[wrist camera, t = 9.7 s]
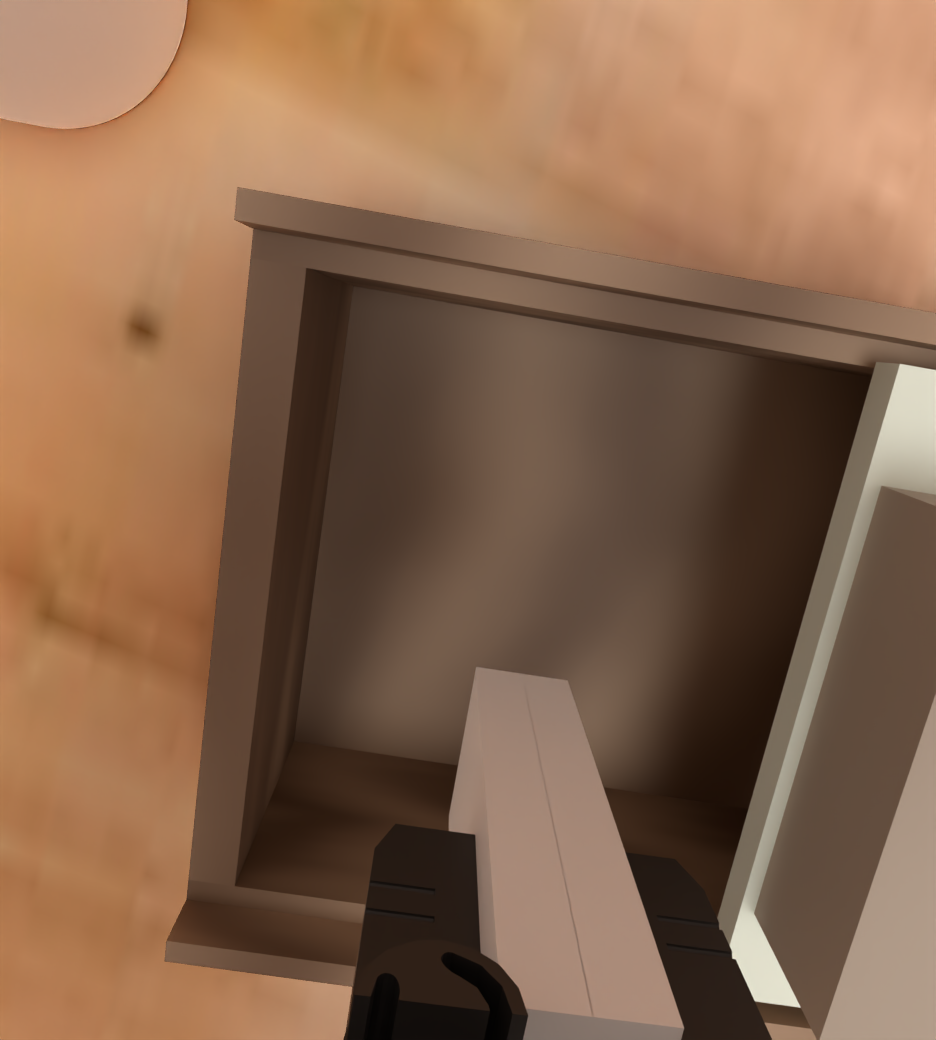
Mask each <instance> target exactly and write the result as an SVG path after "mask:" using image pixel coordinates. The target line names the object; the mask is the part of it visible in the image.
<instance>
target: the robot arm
mask: <svg viewBox="0 0 936 1040" xmlns="http://www.w3.org/2000/svg"><path fill="white" fill-rule="evenodd" d="M344 1040H772V1038H771V1036H770V1034H769V1031H768V1029H767V1027H766V1025H765V1023H764V1020H763V1018H762V1016H761V1014H760V1012H759V1009H758V1007H757V1005H756V1003H755V1001H754V998H753V996H752V994H751V992H750V990H749V987H748V985H747V983H746V981H745V979H744V976H743V974H742V972H741V970H740V968H739V965H738V963H737V961H736V959H732V950H731V948H730V946H729V943H728V941H727V939H726V937H725V935H724V932H723V930H719V922H718V919H717V917H716V915H715V913H714V911H713V908H712V906H711V904H710V902H709V900H708V897H707V895H706V893H705V891H704V889H703V888H702V887H701V886H700V885H699V884H698V883H697V882H696V881H695V880H694V879H693V877H692V876H691V875H690V874H689V873H688V872H687V871H686V870H685V869H684V868H683V867H682V866H681V865H680V864H679V863H678V862H677V861H676V860H675V859H671V858H664V857H656V856H649V855H642V854H635V853H627V852H625V850H624V847H623V844H622V841H621V838H620V835H619V832H618V829H617V826H616V823H615V820H614V817H613V814H612V811H611V808H610V805H609V803H608V800H607V797H606V794H605V791H604V788H603V785H602V782H601V779H600V776H599V773H598V770H597V767H596V764H595V761H594V758H593V755H592V752H591V749H590V746H589V743H588V740H587V737H586V734H585V731H584V728H583V725H582V722H581V719H580V716H579V713H578V710H577V707H576V704H575V701H574V698H573V695H572V692H571V689H570V686H569V683H568V680H561V679H554V678H548V677H541V676H534V675H527V674H521V673H514V672H507V671H501V670H494V669H487V668H481V667H476V671H475V676H474V682H473V687H472V693H471V698H470V703H469V709H468V714H467V720H466V725H465V731H464V736H463V742H462V747H461V752H460V758H459V763H458V769H457V774H456V780H455V785H454V791H453V796H452V802H451V807H450V812H449V831H445V830H438V829H430V828H423V827H416V826H409V825H401V824H395V825H394V826H393V827H392V828H391V830H390V831H389V832H388V833H387V834H386V835H385V837H384V838H383V839H382V840H381V841H380V843H379V844H378V845H377V846H376V847H375V849H374V855H373V862H372V868H371V874H370V880H369V886H368V893H367V899H366V905H365V911H364V917H363V924H362V930H361V936H360V942H359V948H358V955H357V961H356V968H355V974H354V981H353V987H352V994H351V1000H350V1007H349V1014H348V1020H347V1027H346V1033H345V1036H344Z"/></svg>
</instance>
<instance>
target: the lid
mask: <svg viewBox="0 0 936 1040" xmlns="http://www.w3.org/2000/svg"><path fill="white" fill-rule="evenodd" d="M717 919H718V922H719V930H723V932H724V935H725V937H726V939H727V941H728V943H729V946H730V948H731V950H732V959H736V961H737V963H738V965H739V968H740V970H741V972H742V974H743V976H744V979H745V981H746V983H747V985H748V987H749V990H750V992H751V994H752V996H753V998H754V1001H756V1002H763V1003H770V1004H778V1005H785V1006H792V1007H799V1008H801V1009H802V1011H803V1013H804V1015H805V1017H806V1019H807V1021H808V1023H809V1025H810V1027H811V1029H812V1031H813V1033H814V1035H815V1037H816V1039H817V1040H936V370H932V369H926V368H921V367H915V366H910V365H904V364H896V363H884V362H876V365H875V368H874V372H873V375H872V379H871V382H870V386H869V389H868V393H867V396H866V400H865V403H864V407H863V410H862V414H861V417H860V421H859V424H858V428H857V431H856V435H855V438H854V442H853V445H852V449H851V452H850V456H849V459H848V462H847V466H846V469H845V473H844V476H843V480H842V483H841V487H840V490H839V494H838V497H837V501H836V504H835V508H834V511H833V515H832V518H831V522H830V525H829V529H828V532H827V536H826V539H825V543H824V546H823V550H822V553H821V557H820V560H819V564H818V567H817V571H816V574H815V578H814V581H813V585H812V588H811V592H810V595H809V599H808V602H807V606H806V609H805V613H804V616H803V620H802V623H801V627H800V630H799V634H798V637H797V641H796V644H795V648H794V651H793V655H792V658H791V662H790V665H789V669H788V672H787V676H786V679H785V683H784V686H783V690H782V693H781V697H780V700H779V704H778V707H777V711H776V714H775V718H774V721H773V725H772V728H771V732H770V735H769V739H768V742H767V746H766V749H765V753H764V756H763V760H762V763H761V767H760V770H759V774H758V777H757V781H756V784H755V788H754V791H753V795H752V798H751V802H750V805H749V809H748V812H747V816H746V819H745V823H744V826H743V830H742V833H741V837H740V840H739V844H738V847H737V851H736V854H735V858H734V861H733V865H732V868H731V872H730V875H729V879H728V882H727V886H726V889H725V893H724V896H723V900H722V903H721V907H720V910H719V914H718V917H717Z"/></svg>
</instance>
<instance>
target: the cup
mask: <svg viewBox="0 0 936 1040" xmlns="http://www.w3.org/2000/svg"><path fill="white" fill-rule="evenodd" d="M187 3H188V0H0V119H6V120H11V121H16V122H21V123H26V124H31V125H37V126H42V127H48V128H57V129H75V128H85V127H90V126H94V125H98V124H101V123H104V122H107V121H110V120H112V119H114V118H117V117H119V116H121V115H123V114H124V113H126V112H127V111H129V110H131V109H132V108H134V107H135V106H136V105H137V104H139V103H140V102H141V101H142V100H144V99H145V98H146V97H147V96H148V95H149V94H150V93H151V92H152V91H153V89H154V88H155V87H156V86H157V85H158V83H159V82H160V81H161V79H162V78H163V76H164V75H165V73H166V72H167V70H168V68H169V66H170V65H171V63H172V61H173V59H174V57H175V54H176V52H177V49H178V47H179V44H180V41H181V37H182V34H183V30H184V25H185V20H186V12H187Z"/></svg>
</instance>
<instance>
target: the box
mask: <svg viewBox="0 0 936 1040" xmlns="http://www.w3.org/2000/svg"><path fill="white" fill-rule="evenodd" d="M234 220H236V221H238V222H240V223H243V224H245V225H247V226H249V227H251V228H253V229H254V230H253V240H252V250H251V260H250V270H249V280H248V290H247V300H246V310H245V320H244V330H243V340H242V350H241V360H240V370H239V380H238V390H237V400H236V410H235V420H234V430H233V440H232V450H231V460H230V470H229V480H228V490H227V500H226V510H225V520H224V530H223V540H222V550H221V560H220V570H219V580H218V590H217V600H216V610H215V620H214V630H213V640H212V650H211V660H210V670H209V680H208V690H207V700H206V710H205V720H204V730H203V740H202V750H201V760H200V770H199V780H198V790H197V800H196V810H195V820H194V830H193V840H192V850H191V860H190V870H189V880H188V890H187V900H186V902H185V904H184V906H183V908H182V910H181V912H180V914H179V916H178V918H177V920H176V922H175V924H174V926H173V928H172V931H171V933H170V935H169V937H168V939H167V941H166V951H165V961H166V962H173V963H181V964H188V965H195V966H203V967H210V968H218V969H225V970H232V971H240V972H247V973H255V974H262V975H269V976H277V977H284V978H291V979H299V980H306V981H314V982H321V983H328V984H336V985H343V986H351V987H353V981H354V974H355V968H356V961H357V955H358V948H359V942H360V936H361V930H362V924H363V917H364V911H365V905H366V899H367V893H368V886H369V880H370V874H371V868H372V862H373V855H374V849H375V847H376V846H377V845H378V844H379V843H380V841H381V840H382V839H383V838H384V837H385V835H386V834H387V833H388V832H389V831H390V830H391V828H392V827H393V826H394V825H395V824H401V825H409V826H416V827H423V828H430V829H438V830H445V831H449V812H450V807H451V802H452V796H453V791H454V785H455V780H456V774H457V769H458V763H459V758H460V752H461V747H462V742H463V736H464V731H465V725H466V720H467V714H468V709H469V703H470V698H471V693H472V687H473V682H474V676H475V671H476V667H481V668H487V669H494V670H501V671H507V672H514V673H521V674H527V675H534V676H541V677H548V678H554V679H561V680H568V683H569V686H570V689H571V692H572V695H573V698H574V701H575V704H576V707H577V710H578V713H579V716H580V719H581V722H582V725H583V728H584V731H585V734H586V737H587V740H588V743H589V746H590V749H591V752H592V755H593V758H594V761H595V764H596V767H597V770H598V773H599V776H600V779H601V782H602V785H603V788H604V791H605V794H606V797H607V800H608V803H609V805H610V808H611V811H612V814H613V817H614V820H615V823H616V826H617V829H618V832H619V835H620V838H621V841H622V844H623V847H624V850H625V852H627V853H635V854H642V855H649V856H656V857H664V858H671V859H675V860H676V861H677V862H678V863H679V864H680V865H681V866H682V867H683V868H684V869H685V870H686V871H687V872H688V873H689V874H690V875H691V876H692V877H693V879H694V880H695V881H696V882H697V883H698V884H699V885H700V886H701V887H702V888H703V889H704V891H705V893H706V895H707V897H708V900H709V902H710V904H711V906H712V908H713V911H714V913H715V915H716V917H718V914H719V910H720V907H721V903H722V900H723V896H724V893H725V889H726V886H727V882H728V879H729V875H730V872H731V868H732V865H733V861H734V858H735V854H736V851H737V847H738V844H739V840H740V837H741V833H742V830H743V826H744V823H745V819H746V816H747V812H748V809H749V805H750V802H751V798H752V795H753V791H754V788H755V784H756V781H757V777H758V774H759V770H760V767H761V763H762V760H763V756H764V753H765V749H766V746H767V742H768V739H769V735H770V732H771V728H772V725H773V721H774V718H775V714H776V711H777V707H778V704H779V700H780V697H781V693H782V690H783V686H784V683H785V679H786V676H787V672H788V669H789V665H790V662H791V658H792V655H793V651H794V648H795V644H796V641H797V637H798V634H799V630H800V627H801V623H802V620H803V616H804V613H805V609H806V606H807V602H808V599H809V595H810V592H811V588H812V585H813V581H814V578H815V574H816V571H817V567H818V564H819V560H820V557H821V553H822V550H823V546H824V543H825V539H826V536H827V532H828V529H829V525H830V522H831V518H832V515H833V511H834V508H835V504H836V501H837V497H838V494H839V490H840V487H841V483H842V480H843V476H844V473H845V469H846V466H847V462H848V459H849V456H850V452H851V449H852V445H853V442H854V438H855V435H856V431H857V428H858V424H859V421H860V417H861V414H862V410H863V407H864V403H865V400H866V396H867V393H868V389H869V386H870V382H871V379H872V375H873V372H874V368H875V365H876V362H884V363H896V364H904V365H910V366H915V367H921V368H926V369H932V370H936V313H933V312H927V311H922V310H916V309H911V308H905V307H900V306H894V305H889V304H883V303H878V302H872V301H867V300H861V299H855V298H850V297H844V296H839V295H833V294H828V293H822V292H817V291H811V290H806V289H800V288H794V287H789V286H783V285H778V284H772V283H767V282H761V281H756V280H750V279H745V278H739V277H733V276H728V275H722V274H717V273H711V272H706V271H700V270H695V269H689V268H684V267H678V266H672V265H667V264H661V263H656V262H650V261H645V260H639V259H634V258H628V257H623V256H617V255H611V254H606V253H600V252H595V251H589V250H584V249H578V248H573V247H567V246H562V245H556V244H551V243H545V242H539V241H534V240H528V239H523V238H517V237H512V236H506V235H501V234H495V233H490V232H484V231H478V230H473V229H467V228H462V227H456V226H451V225H445V224H440V223H434V222H429V221H423V220H417V219H412V218H406V217H401V216H395V215H390V214H384V213H379V212H373V211H368V210H362V209H356V208H351V207H345V206H340V205H334V204H329V203H323V202H318V201H312V200H307V199H301V198H295V197H290V196H284V195H279V194H273V193H268V192H262V191H257V190H251V189H246V188H240V187H238V188H237V198H236V209H235V219H234ZM755 1003H756V1005H757V1007H758V1009H759V1012H760V1014H761V1016H762V1018H763V1020H764V1023H765V1025H766V1027H767V1029H768V1031H769V1034H770V1036H771V1038H772V1040H817V1039H816V1037H815V1035H814V1033H813V1031H812V1029H811V1027H810V1025H809V1023H808V1021H807V1019H806V1017H805V1015H804V1013H803V1011H802V1009H801V1008H799V1007H792V1006H785V1005H778V1004H770V1003H763V1002H756V1001H755Z"/></svg>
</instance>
